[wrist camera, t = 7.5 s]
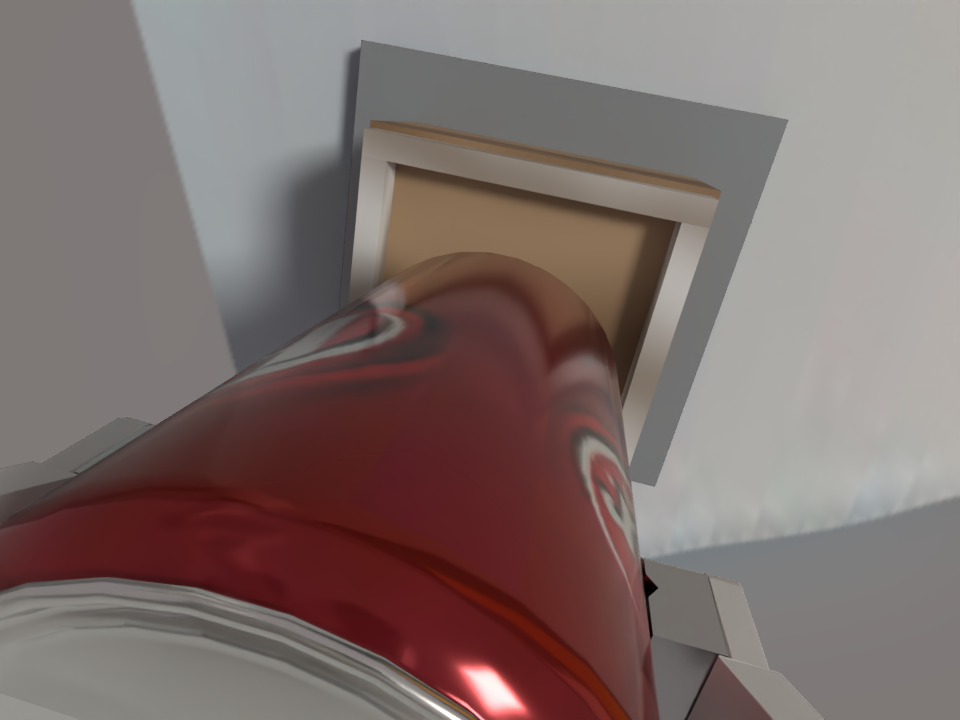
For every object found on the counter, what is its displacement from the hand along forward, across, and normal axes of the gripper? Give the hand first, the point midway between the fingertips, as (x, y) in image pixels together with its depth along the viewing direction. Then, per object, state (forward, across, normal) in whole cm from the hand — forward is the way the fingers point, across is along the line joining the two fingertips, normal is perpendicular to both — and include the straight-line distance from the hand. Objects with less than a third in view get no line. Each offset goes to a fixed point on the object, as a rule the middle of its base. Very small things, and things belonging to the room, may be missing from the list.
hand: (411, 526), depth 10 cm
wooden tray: (+17, 0, 0) cm, 17 cm away
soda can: (+7, 0, 0) cm, 7 cm away
